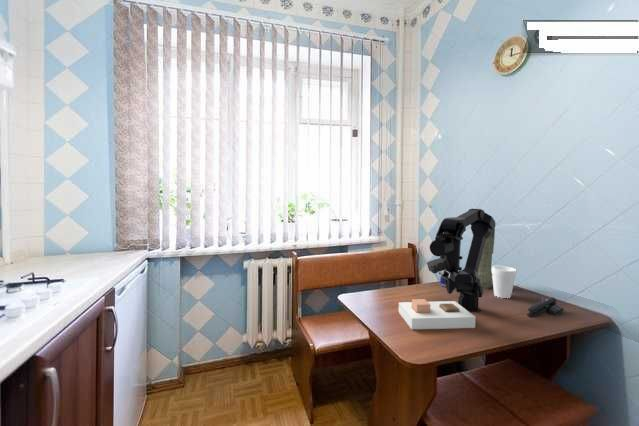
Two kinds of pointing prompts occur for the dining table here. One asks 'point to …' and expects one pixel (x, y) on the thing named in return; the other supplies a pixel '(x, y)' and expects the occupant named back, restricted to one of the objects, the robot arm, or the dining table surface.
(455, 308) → the walnut key
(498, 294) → the foam cup
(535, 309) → the can opener
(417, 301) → the terracotta key
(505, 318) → the dining table surface
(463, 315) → the key panel
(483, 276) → the thermos
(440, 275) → the energy drink
